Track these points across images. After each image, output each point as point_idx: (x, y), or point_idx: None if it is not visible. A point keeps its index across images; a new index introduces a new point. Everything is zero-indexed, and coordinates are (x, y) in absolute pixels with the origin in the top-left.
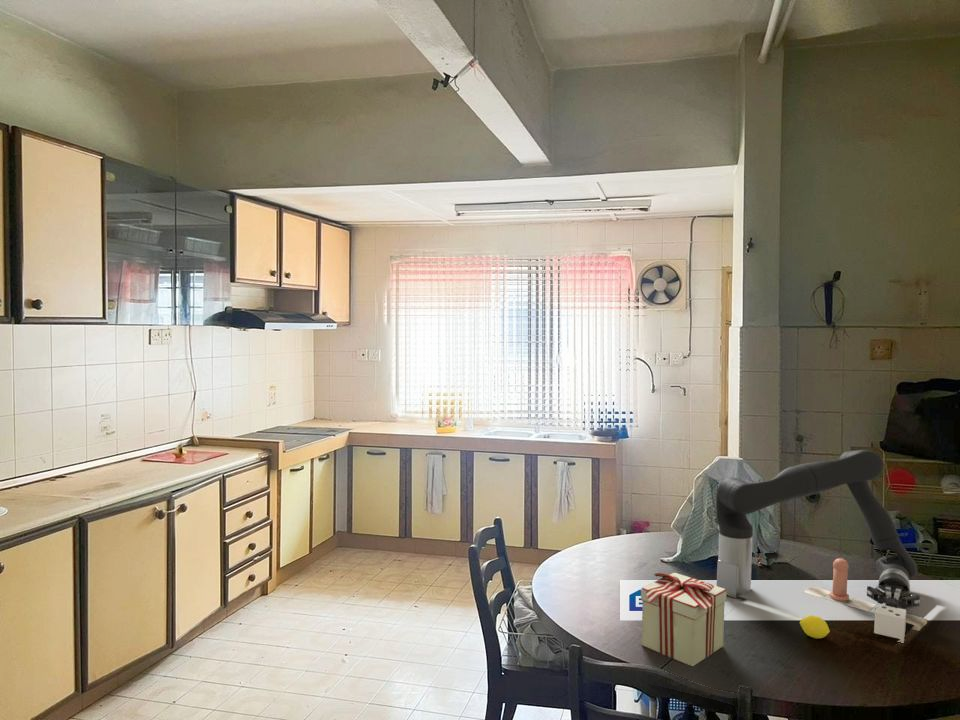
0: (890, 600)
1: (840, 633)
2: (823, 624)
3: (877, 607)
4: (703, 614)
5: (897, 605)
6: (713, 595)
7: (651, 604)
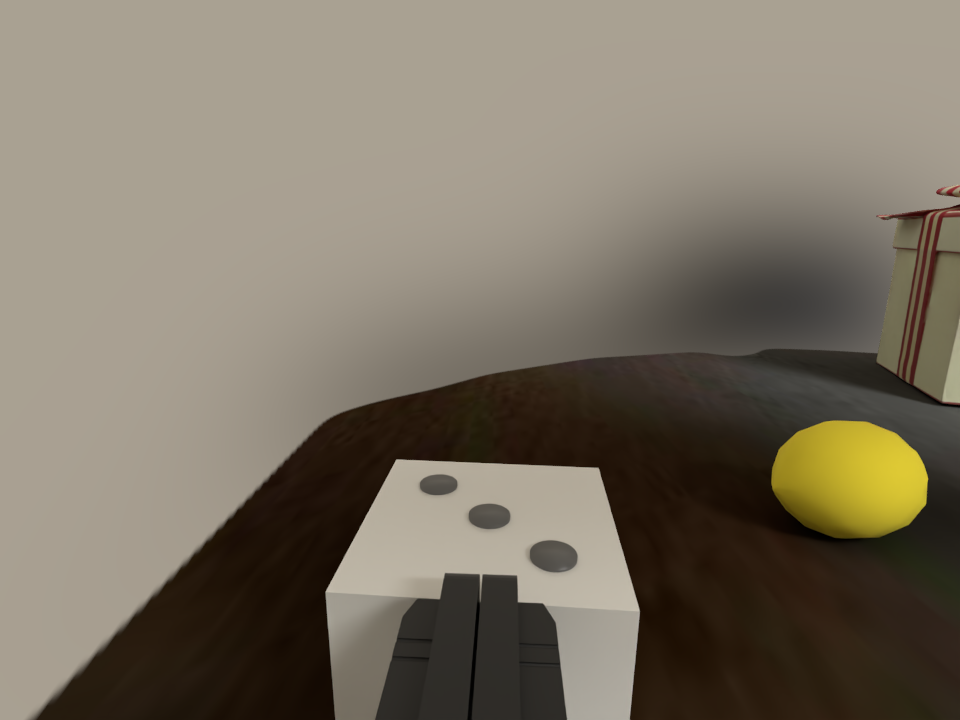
0: (496, 633)
1: (777, 607)
2: (795, 437)
3: (609, 539)
4: (909, 248)
5: (411, 614)
6: (944, 211)
7: None
